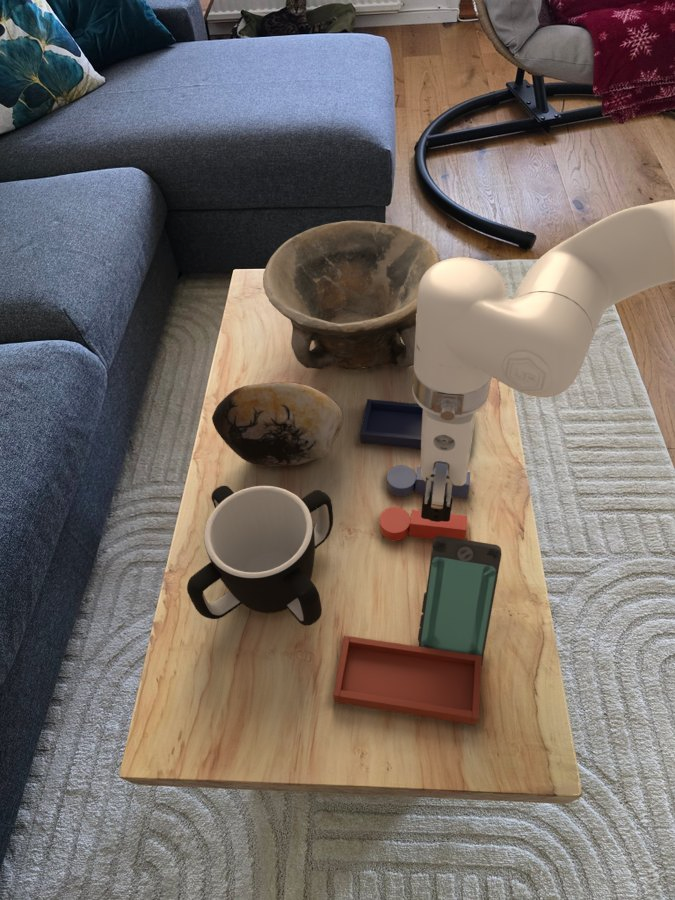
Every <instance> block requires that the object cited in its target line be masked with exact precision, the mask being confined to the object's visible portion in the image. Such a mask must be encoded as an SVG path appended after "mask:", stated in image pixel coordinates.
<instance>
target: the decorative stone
mask: <svg viewBox="0 0 675 900" xmlns="http://www.w3.org/2000/svg"><path fill="white" fill-rule="evenodd" d="M211 421H212V424H213V426H214V429H215V431H216V432H217V434H218V435H219V437H220V438H221V440H223V441H224V443H225V444H226V445H227V446H228V447H229V449H231V450H232V451H233V453H235V454H236V455H237V456H238V457H239V458H240V459H242V460H243V461H245V462H247V463H250V464H252V465H255V466H259V467H281V466H282V467H283V466H284V467H285V466H298V465H303V464H307V463H309V462H311V461H313V460H318V459H321V458H322V457H325V456H326V455H327V453H329V450H330V447H331V446H332V445H333V444H334V443H335V441H336V439H337V437H338V436H339V433H340V431H341V429H342V427H343V424H344V423H343V422H344V415H343V411H342V410H341V408H340V406H339V405H338V404H337V403H336V402H335V401H334V400H333V398H331V397H329V396H328V395H327V394H325V393H323V392H321V391H320V390H318V389H316V388H313V387H311V386H308V385H305V384H302V383H297V382H290V381H275V382H266V383H258V384H256V383H255V384H247V385H243V386H241V387H237V388H236V389H234V390H233V391H231V392H229V393H228V394H227V395H226V396H225V397H224V398H223V399H222V400H221V401H220V402H219V403H218V404H217V406H216V407H215V409H214V411H213V414H212V416H211Z"/></svg>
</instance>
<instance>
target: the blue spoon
mask: <svg viewBox="0 0 675 900" xmlns="http://www.w3.org/2000/svg"><path fill="white" fill-rule="evenodd" d="M433 474H435V468H434V470H433ZM447 476H449V475H448V470H447ZM426 483H427V480H426V482H425V481H424V480H423V479H422V477H421V466H417V468H416V471H415V470H414V469H413V468H412V467H410V466H408V465H404V464H403V465H402V464H400V465H399V464H398V465H395V466H393V467H391V468H390V469H389V470H388V471H387V473H386V489H387V490H388V492H389V493H390V494H392V495H394V496H397V497H407V496H409V495H411V494H412V493H414V492H415V493H416V494H422V495H423V494H424V495H425V493H426ZM470 484H471V471H467V479H466V483H465V484H464V485H462V486H456V485H454V484H452V492H451V498H460V499H468V497H469V492H470ZM433 485H434V482H431V491H430V494H431V492H432V493H433ZM446 492H447V484H446V485H445V494H446Z"/></svg>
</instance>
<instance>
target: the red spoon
mask: <svg viewBox="0 0 675 900" xmlns="http://www.w3.org/2000/svg"><path fill="white" fill-rule="evenodd" d="M421 512H422V509H421V510H420V509H411V512H410V514H409V513H408V511H406V509H404V508H402V507H397V506H392V507H388V508H386V509H384V510H383V511H382V512H381V514H380V516H379V519H378V520H379V521H378V522H379V523H378V524H379V525H378V526H379V527H378V529H379V532H380V534H381V535H382V537H384V538H385V539H387V540H390V541H401V540H404V538H406V537H407V536H409V537H411V538H419V539H421V538H422V539H428V540H434V538H435V537H437V536H445V537H451V538H457V539H464V540H466V536H467V535H466V534H467V527H468V515H464V514H454V513H451V515H450V520H449V521H448V522H445V521H440V522H435V521H430V520H429V519H423V518H421Z"/></svg>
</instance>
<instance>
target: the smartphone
mask: <svg viewBox="0 0 675 900" xmlns="http://www.w3.org/2000/svg"><path fill="white" fill-rule="evenodd" d="M432 540H433V541H432V548H431V554H430V562H429V569H428V576H427V582H426V591H425V592H424V593H423V598H422V605H421V615H420V621H419V627H418V628H419V629H418V634H417V641H418V646H419V647H425V648H432V649H439V650H446V651H453V652H459V653H466V654H473V655H480V656H482V662H481V667H482V666H483V662H484V655H485V652H486V651H485V650H486V645H487V638H488V634H489V633H488V632H489V627H490V623H491V621H490V620H491V615H492V610H493V605H494V601H495V593H496V589H497V582H498V578H499V571H500V566H501V559H502V548H501V547H500V546H499V545H498V544H493V543H489V542H488V543H487V542H482V541H475V540H469V539H465V540H464V539H457V538H451V537H445V536H437V537H435V538H434V539H432Z"/></svg>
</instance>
